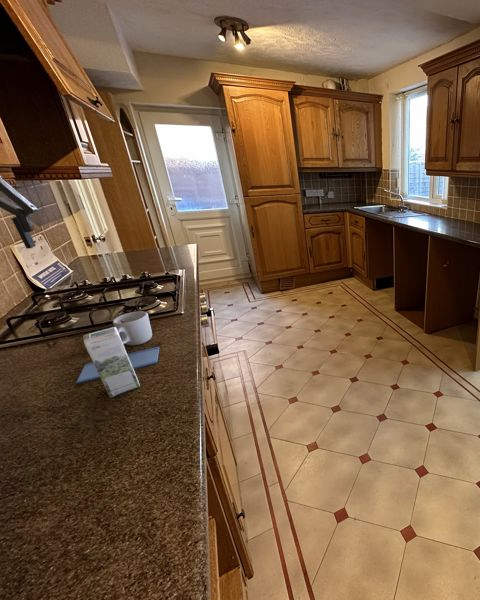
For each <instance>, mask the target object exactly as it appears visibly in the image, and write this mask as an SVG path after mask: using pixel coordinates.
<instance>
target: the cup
mask: <svg viewBox="0 0 480 600" xmlns="http://www.w3.org/2000/svg"><path fill="white" fill-rule="evenodd" d="M112 324H113V325H114V326H113V327H116V329H117V331H118V333H119V335H120V338H121V340H122V343H123V345H125V344H126V345H128V346H139V345H142V344H145V343H147V342H149V341H150V340H151V339H152V338H153V331H152V327H151V322H150V318H149V314H148V312H146V311H141V310H140V311H139V310H137V311H132V312H131V311H130V312H127V313H124V314H121V315H119V316H117V317H115V318H114V319H113V321H112Z"/></svg>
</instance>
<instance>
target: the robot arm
mask: <svg viewBox="0 0 480 600" xmlns="http://www.w3.org/2000/svg"><path fill="white" fill-rule="evenodd" d="M0 192H1V193H3V194H4V196H6V197H8V198H9V199H10V200H11V201H12V202H14V203H15V204H14V203H12V202H11V201H10V200H7V199H5V198H4V197H2V196H0V209H2V210H4V211H5V212H7V213H9V214H12V215H13V216H15V217H12V218H11V221H12V222H13V225H14V227H15V229H16V231H17V232H18V234H19V236H20V238H21V240H22V242H23V244H24V246H25V249H27V250H29V249H33V248H35V247H36V246H37V245H36V243H35V241H34V238H33V236H32V234H31V233H32V232H33V231H35V228H34V226H33V223H32V222H31V219H30V217H29V216H30V215H31V214H34V213H36V212H38V208H37V206H35V205H34V204H33V203H32V202H30V201H29V200H28V199H27V198H25V196H23V195H22V194H21V193H20V192H19V191H17V189H15V188H14V187H13V186H11V184H9V183H8V182H7V181H6V180H4V179H3V178H2V176H1V175H0Z"/></svg>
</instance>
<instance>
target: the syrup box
mask: <svg viewBox="0 0 480 600" xmlns="http://www.w3.org/2000/svg"><path fill="white" fill-rule="evenodd" d="M82 339H83V344H84V347H85V350H86V351H87V353H88V355H89V357H90V359H91V361H92V362H93V363H94V365H95V368H96V370H97V372H98V374H99V376H100V378H99V379H100V380H101V382H102V384H103V387H104V388H105V390H106V393H107V395H108V397H109V398H113V397H116V396H120V395H122V394H124V393H127V392H130V391H132V390H135V389H138V388H141V387H140V386H141V385H140V382H139V379H138V376H137V374H136V372H135V369H133V367H132V365H131V362H130V360H129V358H128V355H127V354H128V353H127V350H126V348H125V344H123V343H122V337H121V336H120V334H119V333H118V331H117V329H116V327H115V326H112V327H109V328H104V329H101V330H97V331H93V332H89V333H87V334H83V337H82Z"/></svg>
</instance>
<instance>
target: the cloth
mask: <svg viewBox="0 0 480 600" xmlns="http://www.w3.org/2000/svg"><path fill="white" fill-rule="evenodd" d="M159 353H160V346H155V347H150V348H147V349H142V350H137V351H134V352H130V353H127V355H128V358H129V360H130V362H131V365H132V367H133V369H134V370H139V369H141V368H145V367H150V366H153V365H157V364H158V361H159ZM99 379H101V378H100V376H99V374H98V372H97V370H96V368H95V365H94V363H93V361H92V362H87V363H85V364H84V367H83V368H82V370H81V372H80V374H79V376H78V379H77V380H76V381H75V385H80V384H83V383H88V382H92V381H96V380H99Z"/></svg>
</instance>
